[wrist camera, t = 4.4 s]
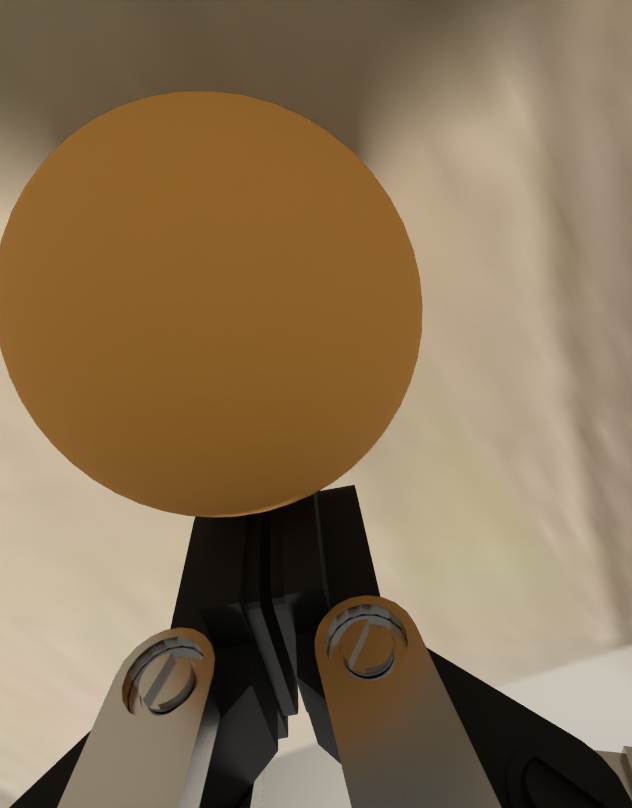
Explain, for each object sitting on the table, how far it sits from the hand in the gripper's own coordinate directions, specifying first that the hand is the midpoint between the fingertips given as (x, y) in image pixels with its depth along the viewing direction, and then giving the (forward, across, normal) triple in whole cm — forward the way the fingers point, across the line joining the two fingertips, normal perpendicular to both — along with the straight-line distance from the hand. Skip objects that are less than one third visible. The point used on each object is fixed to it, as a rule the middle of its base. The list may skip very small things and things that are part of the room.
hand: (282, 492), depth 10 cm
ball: (-1, 0, -4) cm, 4 cm away
